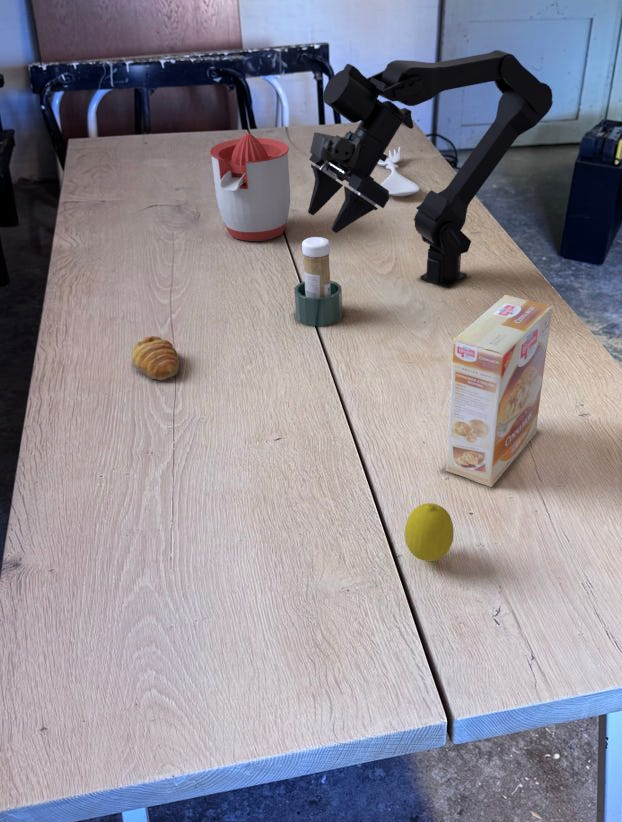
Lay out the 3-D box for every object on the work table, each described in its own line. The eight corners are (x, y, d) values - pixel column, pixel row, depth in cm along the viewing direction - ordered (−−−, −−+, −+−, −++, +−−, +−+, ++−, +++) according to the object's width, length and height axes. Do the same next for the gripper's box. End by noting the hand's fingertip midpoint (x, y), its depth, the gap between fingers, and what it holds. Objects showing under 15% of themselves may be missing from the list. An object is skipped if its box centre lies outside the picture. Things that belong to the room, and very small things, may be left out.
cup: (317, 301, 157) (316, 275, 154) (351, 313, 152) (350, 287, 149) (286, 317, 152) (284, 290, 149) (321, 330, 148) (319, 303, 145)
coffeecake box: (492, 488, 112) (505, 354, 100) (443, 471, 115) (450, 339, 104) (538, 433, 122) (555, 304, 111) (492, 418, 125) (503, 292, 114)
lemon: (401, 545, 104) (402, 491, 99) (447, 542, 104) (451, 488, 99) (407, 577, 99) (408, 523, 95) (455, 573, 100) (459, 519, 95)
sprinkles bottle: (337, 317, 152) (334, 242, 143) (314, 324, 150) (310, 248, 141) (323, 307, 155) (320, 233, 146) (301, 314, 153) (296, 239, 144)
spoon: (400, 158, 222) (400, 144, 220) (422, 202, 197) (423, 186, 195) (365, 160, 221) (365, 146, 219) (383, 204, 196) (383, 189, 194)
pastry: (190, 375, 136) (187, 353, 134) (149, 387, 133) (145, 365, 131) (168, 350, 142) (165, 329, 140) (129, 362, 140) (124, 340, 137)
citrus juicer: (200, 243, 179) (187, 142, 166) (241, 214, 191) (232, 119, 179) (269, 254, 174) (260, 151, 162) (306, 224, 187) (301, 126, 174)
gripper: (310, 98, 143) (262, 183, 147) (362, 125, 130) (308, 218, 134) (359, 133, 151) (312, 213, 155) (413, 163, 137) (360, 249, 141)
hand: (321, 222), depth 146 cm, fingers open, 9 cm apart
